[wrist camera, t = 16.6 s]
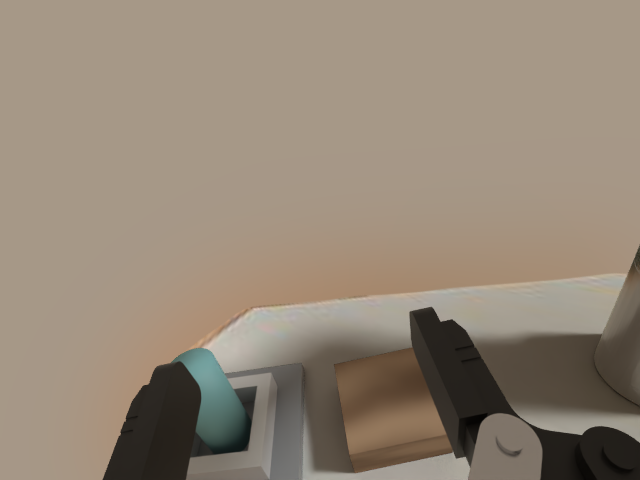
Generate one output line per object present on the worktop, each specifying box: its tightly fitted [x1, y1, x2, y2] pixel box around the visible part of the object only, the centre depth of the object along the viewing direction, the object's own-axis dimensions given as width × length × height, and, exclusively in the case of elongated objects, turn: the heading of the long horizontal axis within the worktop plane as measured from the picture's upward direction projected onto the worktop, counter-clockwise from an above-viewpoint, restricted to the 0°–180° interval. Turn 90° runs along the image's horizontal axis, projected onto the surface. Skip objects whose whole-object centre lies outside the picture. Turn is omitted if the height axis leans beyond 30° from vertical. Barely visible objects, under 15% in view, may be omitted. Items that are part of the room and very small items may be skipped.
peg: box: [171, 348, 252, 455], centre depth 35 cm, size 5×5×12 cm
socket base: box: [186, 363, 304, 480], centre depth 38 cm, size 16×16×4 cm
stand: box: [334, 347, 453, 473], centre depth 37 cm, size 10×10×4 cm
